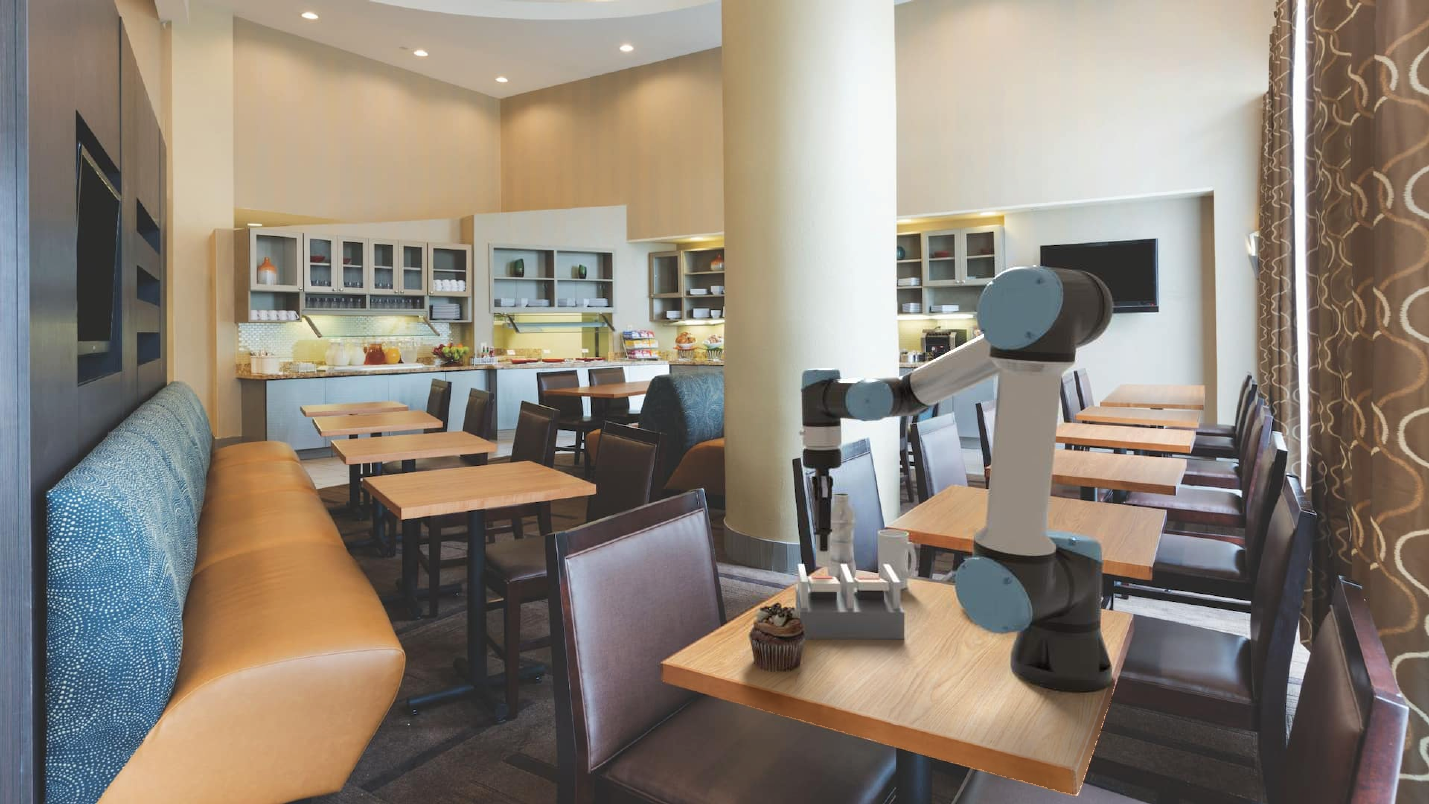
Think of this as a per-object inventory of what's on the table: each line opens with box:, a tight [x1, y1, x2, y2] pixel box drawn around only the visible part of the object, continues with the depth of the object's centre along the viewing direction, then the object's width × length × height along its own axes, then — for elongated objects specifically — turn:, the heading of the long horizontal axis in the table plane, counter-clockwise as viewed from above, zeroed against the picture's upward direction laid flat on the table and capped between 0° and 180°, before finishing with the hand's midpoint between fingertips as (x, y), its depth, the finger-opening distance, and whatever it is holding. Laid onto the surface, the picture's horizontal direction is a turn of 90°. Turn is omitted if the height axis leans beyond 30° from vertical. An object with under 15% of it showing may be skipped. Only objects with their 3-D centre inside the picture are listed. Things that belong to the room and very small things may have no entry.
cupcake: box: [748, 602, 806, 673], centre depth 132 cm, size 10×10×10 cm
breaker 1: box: [807, 575, 841, 592], centre depth 150 cm, size 10×6×2 cm, turn 177°
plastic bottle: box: [826, 492, 857, 582], centre depth 177 cm, size 6×7×20 cm
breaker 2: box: [853, 576, 889, 590], centre depth 149 cm, size 10×6×2 cm, turn 177°
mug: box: [877, 529, 917, 590], centre depth 172 cm, size 10×7×12 cm, turn 32°
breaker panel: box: [795, 563, 905, 640], centre depth 150 cm, size 16×19×10 cm
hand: (823, 565), depth 153 cm, fingers closed
